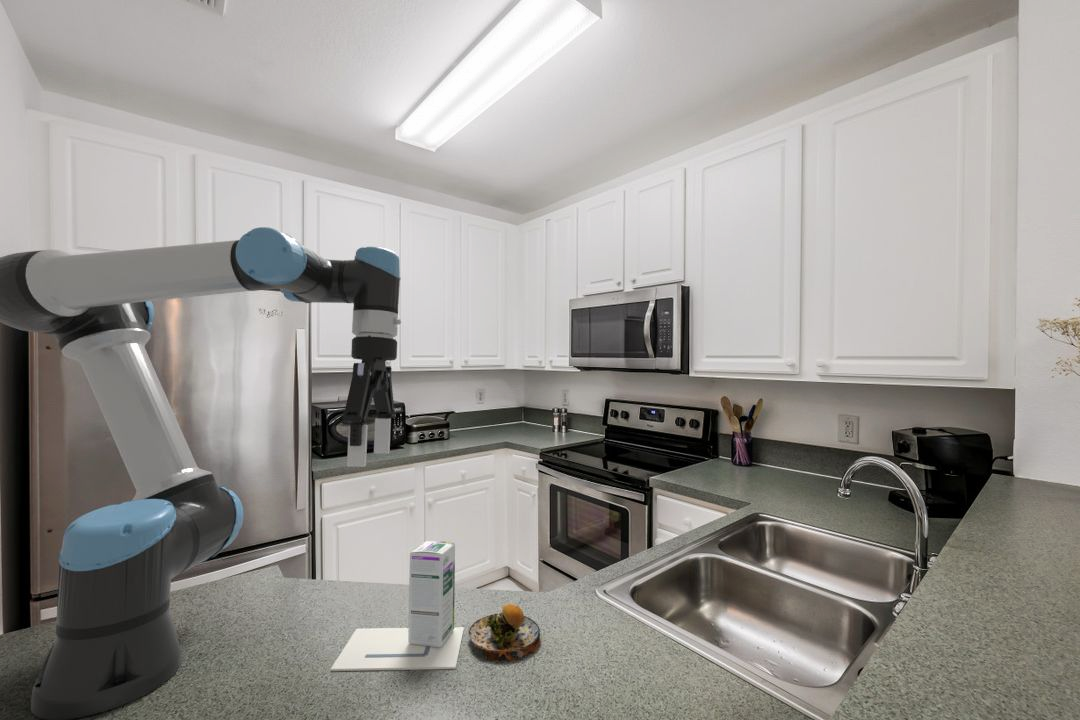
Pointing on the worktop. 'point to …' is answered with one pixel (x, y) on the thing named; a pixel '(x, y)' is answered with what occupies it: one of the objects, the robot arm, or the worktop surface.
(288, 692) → the worktop surface
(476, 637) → the salad plate
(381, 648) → the paper
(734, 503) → the worktop surface
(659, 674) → the worktop surface
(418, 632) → the syrup box
